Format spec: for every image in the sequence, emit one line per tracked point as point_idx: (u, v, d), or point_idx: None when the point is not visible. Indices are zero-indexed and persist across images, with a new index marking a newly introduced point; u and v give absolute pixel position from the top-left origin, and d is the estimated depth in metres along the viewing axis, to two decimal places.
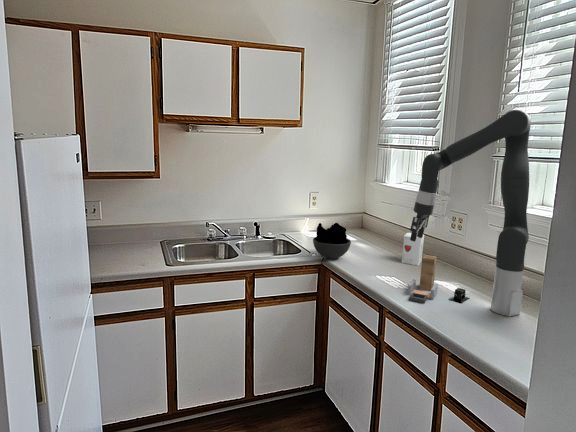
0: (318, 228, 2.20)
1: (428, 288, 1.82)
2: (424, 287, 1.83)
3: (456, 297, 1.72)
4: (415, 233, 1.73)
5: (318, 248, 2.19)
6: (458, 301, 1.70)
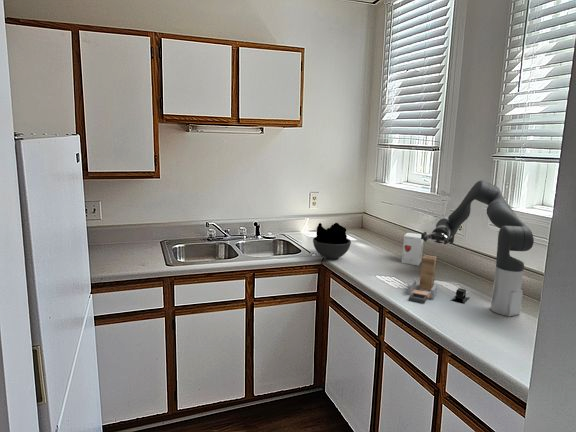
0: (318, 228, 2.20)
1: (428, 288, 1.82)
2: (424, 287, 1.83)
3: (458, 297, 1.72)
4: (424, 236, 1.96)
5: (318, 248, 2.19)
6: (460, 302, 1.70)
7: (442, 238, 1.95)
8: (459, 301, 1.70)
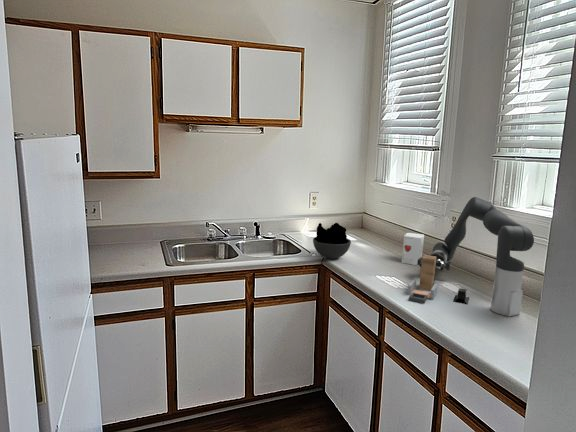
0: (318, 228, 2.20)
1: (428, 288, 1.82)
2: (424, 287, 1.83)
3: (460, 298, 1.71)
4: (421, 261, 1.95)
5: (318, 248, 2.19)
6: (463, 302, 1.69)
7: (438, 264, 1.94)
8: (462, 301, 1.70)
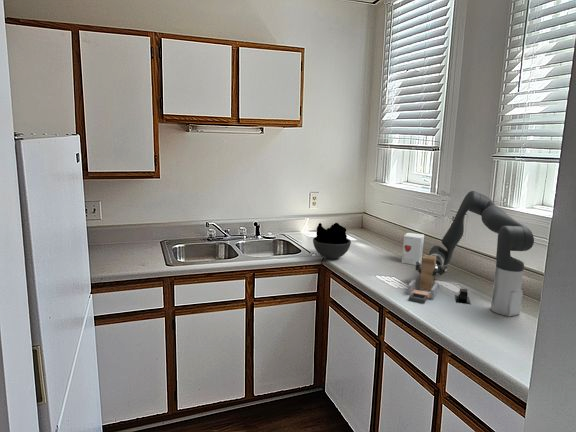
0: (318, 228, 2.20)
1: (428, 288, 1.82)
2: (424, 287, 1.83)
3: (462, 298, 1.71)
4: (419, 267, 1.86)
5: (318, 248, 2.19)
6: (466, 302, 1.69)
7: None
8: (464, 302, 1.69)
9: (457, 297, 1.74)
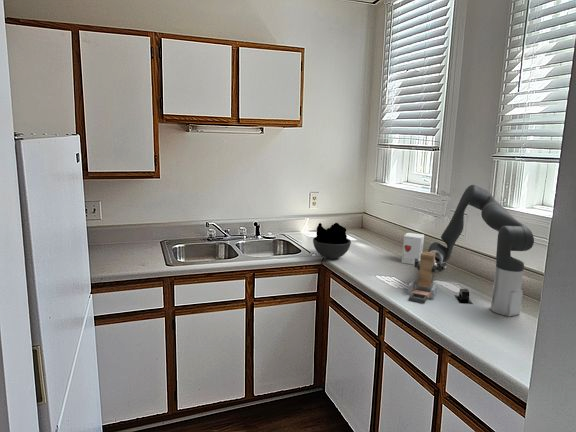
0: (318, 228, 2.20)
1: (427, 285, 1.78)
2: (423, 284, 1.79)
3: (464, 299, 1.71)
4: (418, 264, 1.82)
5: (318, 248, 2.19)
6: (469, 302, 1.69)
7: None
8: (467, 302, 1.69)
9: (458, 297, 1.74)
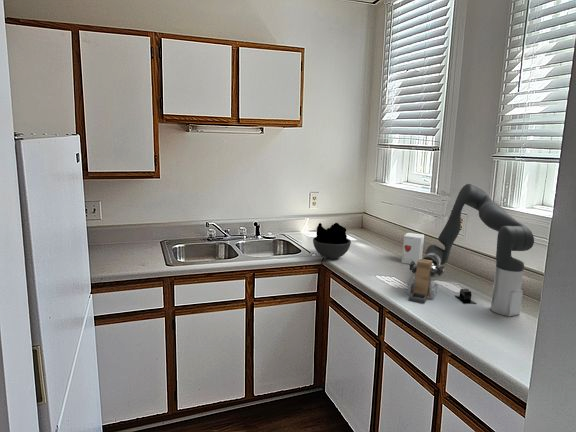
0: (318, 228, 2.20)
1: (423, 294, 1.73)
2: (419, 292, 1.74)
3: (466, 299, 1.71)
4: (413, 266, 1.78)
5: (318, 248, 2.19)
6: (471, 302, 1.69)
7: None
8: (470, 302, 1.69)
9: (459, 298, 1.74)
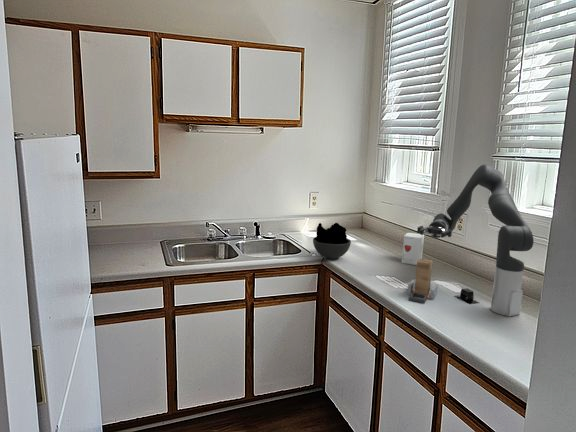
0: (318, 228, 2.20)
1: (423, 294, 1.73)
2: (419, 293, 1.74)
3: (469, 299, 1.71)
4: (421, 229, 1.86)
5: (318, 248, 2.19)
6: (475, 302, 1.70)
7: (439, 232, 1.86)
8: (473, 302, 1.70)
9: (461, 298, 1.73)
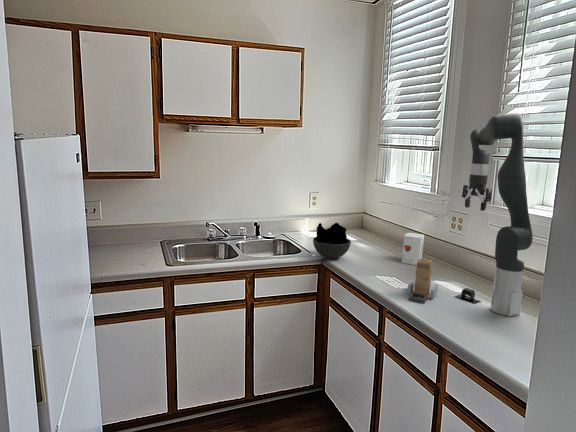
0: (318, 228, 2.20)
1: (423, 294, 1.73)
2: (419, 293, 1.74)
3: (471, 298, 1.71)
4: (465, 199, 1.99)
5: (318, 248, 2.19)
6: (477, 301, 1.71)
7: None
8: (476, 301, 1.71)
9: (463, 298, 1.73)
